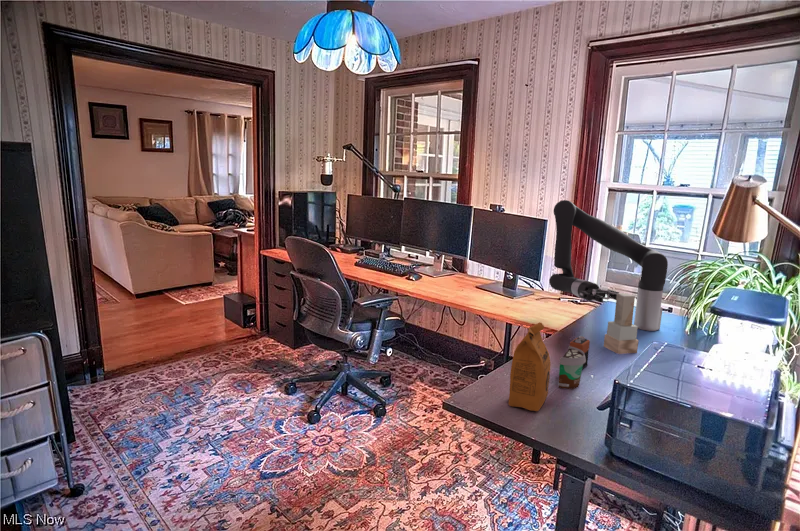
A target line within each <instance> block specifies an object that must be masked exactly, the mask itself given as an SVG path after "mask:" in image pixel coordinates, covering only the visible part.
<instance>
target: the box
mask: <svg viewBox="0 0 800 531" xmlns="http://www.w3.org/2000/svg"><path fill="white" fill-rule="evenodd" d="M635 300H636V296H635V295H633V294H630V293H628V292H625V293H624V292H619V293H617V298H616V300H615V310H614V320H613V321H614V322H615V323H617V324H619V325H621V326H632V324H633V319H634V307H635Z"/></svg>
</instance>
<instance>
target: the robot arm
mask: <svg viewBox="0 0 800 531" xmlns="http://www.w3.org/2000/svg"><path fill="white" fill-rule="evenodd" d="M553 216H554V219H555V225H556V226H555V230H556V233H555V244H554V257H553V258H554V261H553V264H554V267H555V268H556V269H561V270H562V272H561V273H554V274H552V275H551V276H550V277H549V280H548V281H549V285H550V287H551V289H554V290H555V291H560V292H565V293H568V294H572V295H574V296H576V297H577V298H581V299H583V300H586V301H587V302H594V301H596V302H599V303H604V302H603V301H604V300H610V299H611V300H615V301H616V298H617V293H620V292H618V291H615V290H612V289H609V288H608V289H604V288H600V286H599V285H598V284H597V283H595V282H592V281H589V280H587V279H581V278H578V277H575V276H574V272H573V268H572V230H573V226H574V227H575V228H577V229H579V230H580V231H581V232H583V233H584V234H585V235H587V236H588V237H589V238H590V239H592V240H593V241H595V242H596V243H598V244H599V245H601V246H603V247H605V248H606V249H609V250H610V251H613V252H615V253H617V254H621V255H623V256H625V257H626V258H629V259H630V260H632V261H633V262H635V263H636V264H638V265H639V266H640V267H641V275H640V280H639V282H638V288H637V297H636V303H635V311H634V312H635V314H634V321H633V323H634V324H633V325H635V326H638V329H637V330H643V331H648V332H649V331H650V332H651V331H652V332H656V331H658V330H661V325H662V324H661V322H662V315H663V309H664V308H663V307H662V300H663V292H664V286H665V283H666V280H667V274H668V265H669V264H668V259H667V257H666V256H665V255H664V254H663V253H661V252H659V251H658V250H655V249H652V248H649V247H648V246H646V245H645V244H641V243H639V242H638V241H636V240H635V239H633V238H632V237H631V236H630V235H628V234H627V233H625V232H624V231H623V230H621V229H619V228H618V227H616V226H614V225H612V224H611V223H609V222H607V221H605V220H602V219H600V218H597V217H595V216H593V215H591V214H588V213H587V212H586V211H584V210H582V209H581V208H579V207H578V206H576V205H575V204H574V203H573V201H571V200H566V199H564V200H563V199H562V200H560V201H558V202H557V203H556V204H555V205H554V207H553Z"/></svg>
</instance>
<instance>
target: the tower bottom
mask: <svg viewBox="0 0 800 531" xmlns="http://www.w3.org/2000/svg"><path fill="white" fill-rule="evenodd" d="M638 347H639V339H637V338H636V340H622V341H619V340H617V339H615V338H613V337H611V336H609V335H607V333H605V334H604V340H603V348H606V349H608V350H609V351H611V352H614V353H615V354H617V355H625V354H637V353H638V349H639V348H638Z"/></svg>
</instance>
